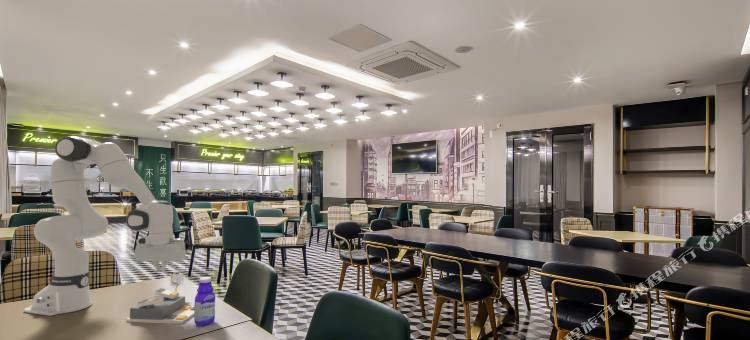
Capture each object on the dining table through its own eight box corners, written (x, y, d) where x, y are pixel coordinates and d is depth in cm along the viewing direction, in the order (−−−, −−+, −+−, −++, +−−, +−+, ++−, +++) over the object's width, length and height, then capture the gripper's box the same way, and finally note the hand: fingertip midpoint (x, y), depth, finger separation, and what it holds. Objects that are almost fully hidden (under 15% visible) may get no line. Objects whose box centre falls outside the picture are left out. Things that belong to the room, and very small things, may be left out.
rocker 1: (137, 307, 139) (136, 303, 139) (144, 303, 143) (144, 299, 143) (157, 303, 139) (156, 299, 139) (163, 299, 143) (163, 296, 143)
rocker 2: (154, 294, 149) (155, 290, 149) (160, 291, 153) (161, 287, 153) (172, 299, 149) (173, 295, 149) (178, 295, 153) (179, 292, 153)
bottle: (199, 328, 134) (201, 281, 134) (191, 324, 137) (192, 278, 137) (217, 321, 140) (218, 276, 140) (208, 318, 143) (210, 274, 143)
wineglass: (176, 302, 160) (177, 275, 160) (165, 301, 161) (166, 274, 162) (186, 298, 166) (186, 271, 166) (175, 296, 167) (176, 270, 167)
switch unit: (126, 321, 138) (126, 306, 138) (153, 306, 154) (154, 293, 154) (181, 323, 137) (182, 308, 137) (203, 308, 153) (204, 294, 153)
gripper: (189, 237, 154) (188, 270, 154) (142, 237, 155) (142, 269, 155) (180, 240, 148) (180, 274, 148) (132, 239, 149) (131, 273, 149)
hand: (160, 271), depth 151 cm, fingers closed
